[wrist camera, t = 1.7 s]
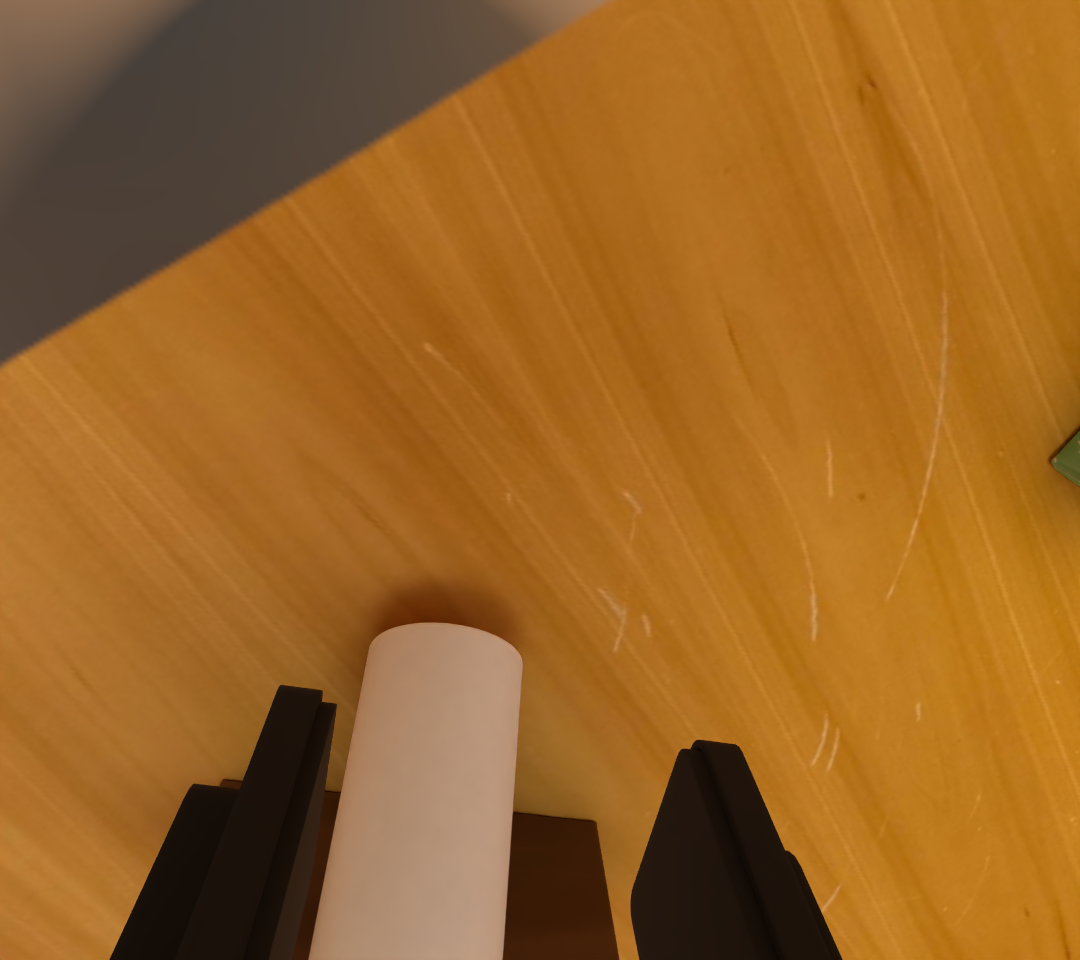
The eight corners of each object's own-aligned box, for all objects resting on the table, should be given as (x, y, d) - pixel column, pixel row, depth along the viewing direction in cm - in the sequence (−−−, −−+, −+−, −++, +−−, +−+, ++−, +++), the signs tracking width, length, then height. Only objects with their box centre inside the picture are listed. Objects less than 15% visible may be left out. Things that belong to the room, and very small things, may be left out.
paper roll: (382, 571, 26) (318, 844, 16) (532, 594, 27) (561, 870, 17) (348, 788, 30) (277, 1127, 20) (482, 803, 30) (481, 1138, 20)
